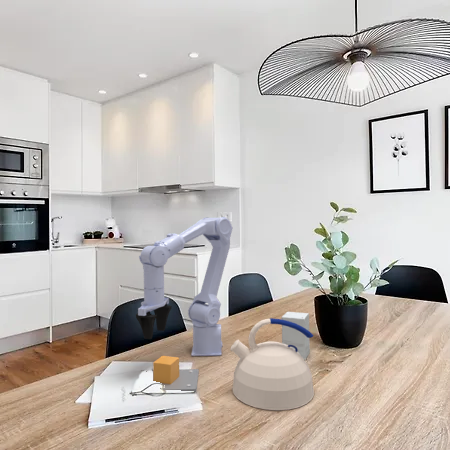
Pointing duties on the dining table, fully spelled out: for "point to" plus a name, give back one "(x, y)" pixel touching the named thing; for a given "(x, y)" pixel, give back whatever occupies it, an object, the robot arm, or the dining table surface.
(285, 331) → the supplement box
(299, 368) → the kettle
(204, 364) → the dining table surface
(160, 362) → the orange cube
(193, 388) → the plate
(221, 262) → the robot arm
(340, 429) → the dining table surface
